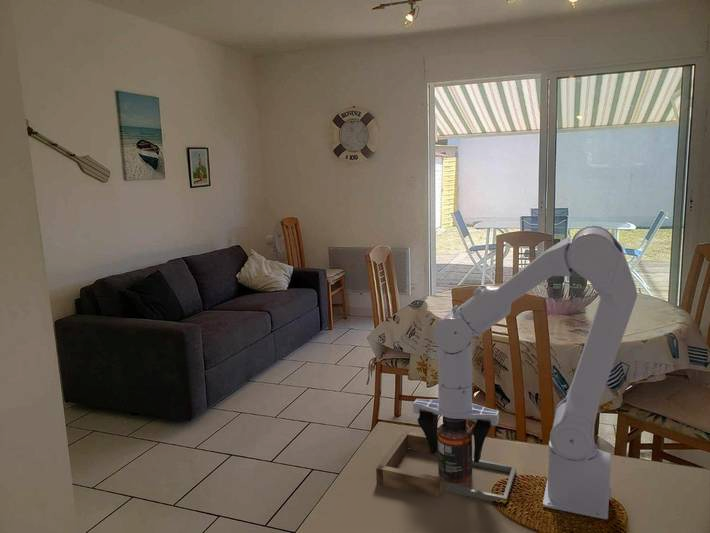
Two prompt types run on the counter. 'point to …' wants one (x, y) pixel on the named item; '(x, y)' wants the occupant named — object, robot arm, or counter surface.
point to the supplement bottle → (454, 450)
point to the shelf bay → (405, 478)
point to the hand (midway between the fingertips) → (455, 455)
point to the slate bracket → (484, 494)
